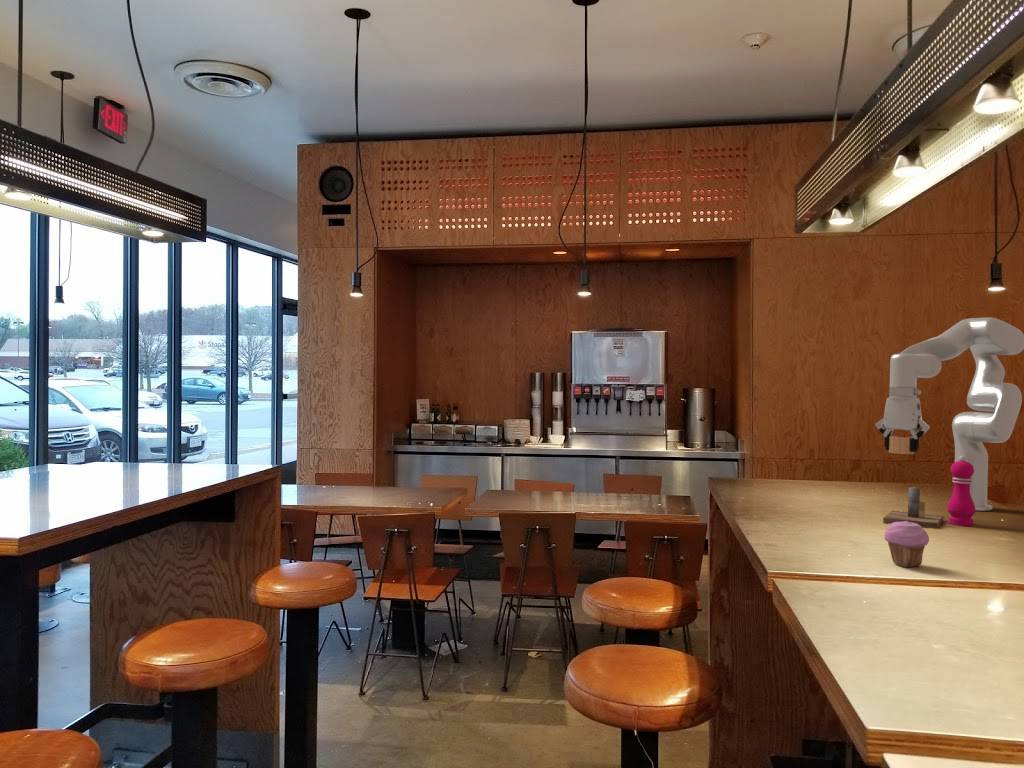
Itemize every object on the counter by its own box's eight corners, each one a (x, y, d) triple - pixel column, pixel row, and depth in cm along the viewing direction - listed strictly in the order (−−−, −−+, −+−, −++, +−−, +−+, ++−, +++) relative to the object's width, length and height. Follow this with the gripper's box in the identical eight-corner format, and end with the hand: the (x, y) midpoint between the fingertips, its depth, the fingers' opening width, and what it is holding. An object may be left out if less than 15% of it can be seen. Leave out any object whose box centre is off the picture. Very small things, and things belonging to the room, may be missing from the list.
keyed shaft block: (891, 515, 250) (892, 483, 250) (942, 520, 243) (943, 487, 243) (883, 522, 237) (883, 488, 237) (937, 528, 229) (938, 493, 229)
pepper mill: (980, 526, 233) (982, 457, 233) (954, 526, 233) (956, 456, 233) (966, 522, 240) (968, 454, 240) (942, 521, 240) (943, 454, 240)
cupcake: (903, 570, 177) (904, 525, 177) (875, 561, 186) (876, 518, 186) (936, 568, 180) (937, 523, 180) (907, 560, 188) (908, 517, 188)
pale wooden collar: (912, 454, 247) (913, 438, 247) (886, 452, 251) (887, 436, 251) (915, 453, 253) (915, 437, 253) (889, 451, 257) (890, 435, 257)
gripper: (937, 394, 248) (935, 452, 248) (879, 392, 261) (878, 448, 261) (927, 394, 243) (925, 453, 243) (869, 392, 256) (868, 449, 256)
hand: (901, 450), depth 252 cm, fingers closed on pale wooden collar, 7 cm apart
